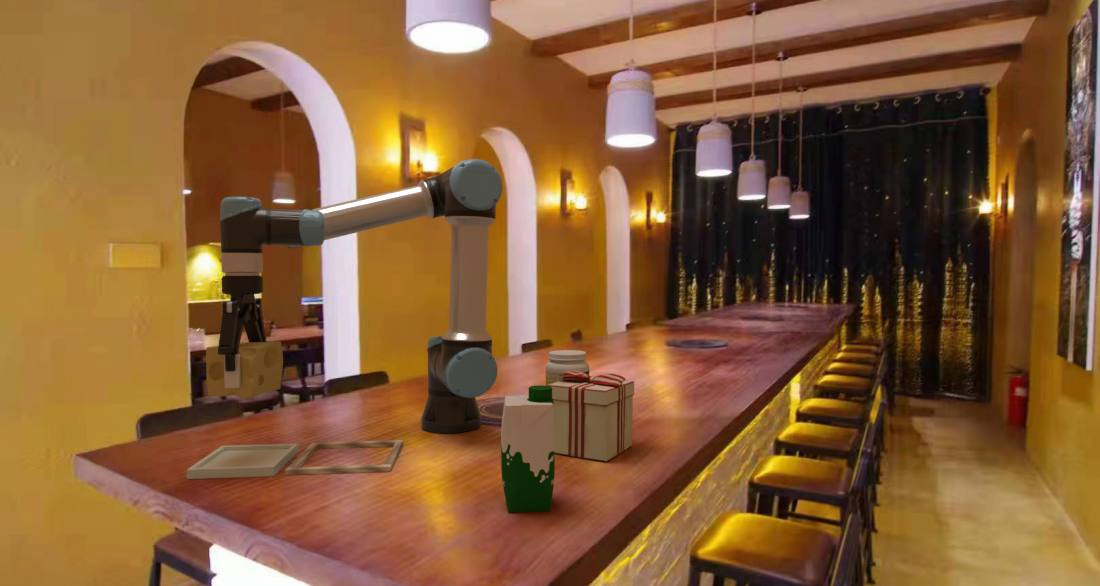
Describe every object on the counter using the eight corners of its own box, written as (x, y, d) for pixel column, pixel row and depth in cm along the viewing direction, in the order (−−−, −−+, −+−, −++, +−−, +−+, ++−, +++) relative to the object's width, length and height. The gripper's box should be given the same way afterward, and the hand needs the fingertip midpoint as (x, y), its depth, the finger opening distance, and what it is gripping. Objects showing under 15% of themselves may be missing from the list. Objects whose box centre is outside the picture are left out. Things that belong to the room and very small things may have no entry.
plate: (298, 451, 137) (298, 443, 137) (273, 476, 121) (273, 467, 121) (222, 454, 135) (222, 445, 135) (186, 479, 119) (186, 469, 119)
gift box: (639, 441, 145) (639, 367, 144) (612, 464, 128) (613, 381, 127) (571, 433, 152) (571, 362, 151) (538, 454, 135) (538, 374, 134)
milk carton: (556, 513, 103) (556, 392, 102) (501, 515, 102) (501, 393, 101) (552, 493, 111) (552, 382, 110) (501, 495, 111) (500, 383, 110)
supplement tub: (590, 418, 166) (590, 355, 166) (544, 418, 167) (544, 355, 166) (588, 408, 179) (588, 349, 178) (545, 407, 179) (545, 349, 178)
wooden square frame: (403, 444, 142) (403, 440, 142) (390, 471, 123) (390, 466, 123) (312, 446, 140) (312, 442, 140) (285, 475, 121) (285, 469, 121)
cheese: (252, 398, 121) (251, 347, 121) (203, 396, 123) (202, 346, 123) (284, 388, 132) (283, 341, 131) (238, 386, 134) (237, 340, 133)
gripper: (245, 273, 138) (247, 372, 139) (195, 275, 114) (198, 394, 115) (280, 273, 138) (282, 371, 139) (238, 275, 115) (241, 393, 116)
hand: (244, 382), depth 127 cm, fingers closed on cheese, 11 cm apart
